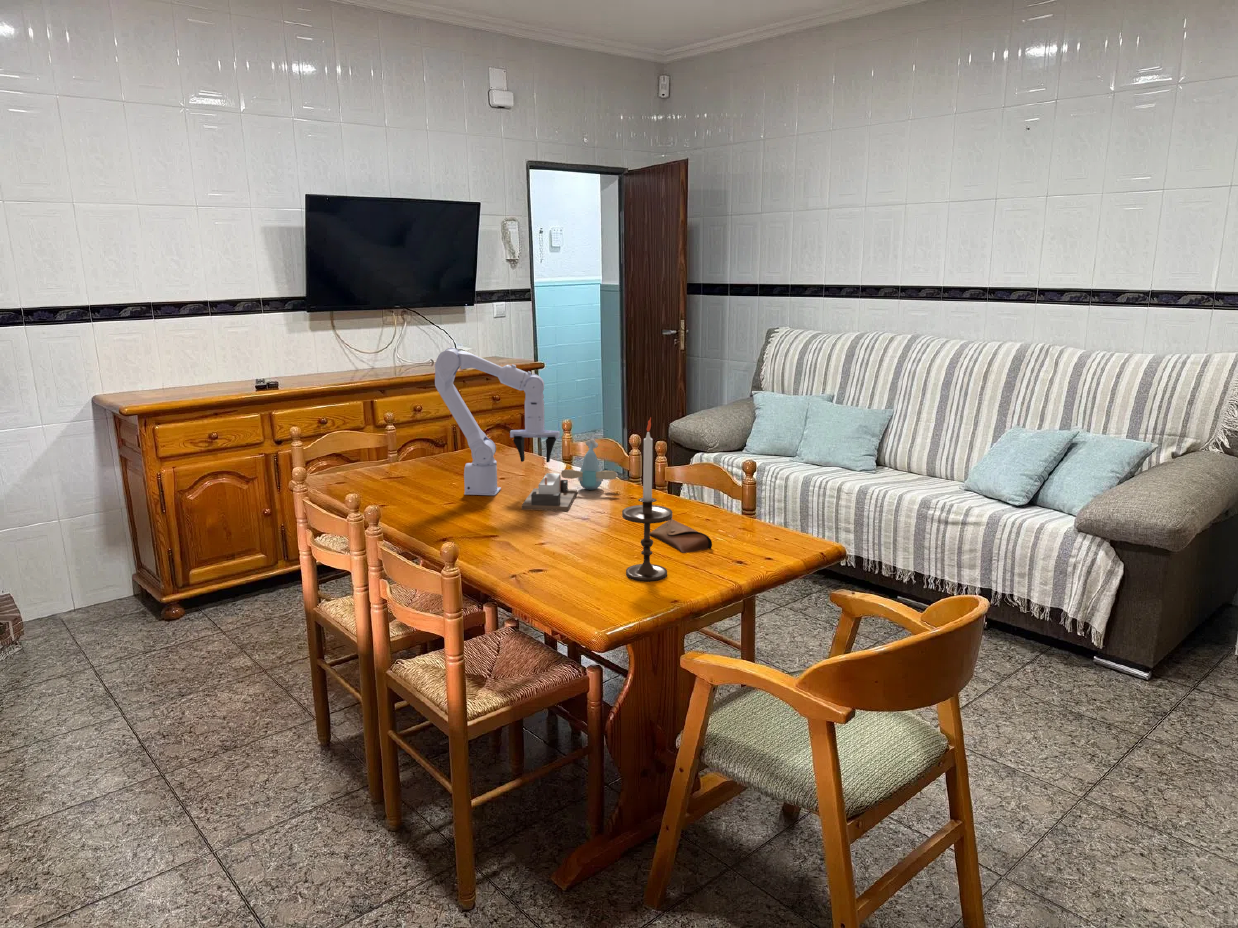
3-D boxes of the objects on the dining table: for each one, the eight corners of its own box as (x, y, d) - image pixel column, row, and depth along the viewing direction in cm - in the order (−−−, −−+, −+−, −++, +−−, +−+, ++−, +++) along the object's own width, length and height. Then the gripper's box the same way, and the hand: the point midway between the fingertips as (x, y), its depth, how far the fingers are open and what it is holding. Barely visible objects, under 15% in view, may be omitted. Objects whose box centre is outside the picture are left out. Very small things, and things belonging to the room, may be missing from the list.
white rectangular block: (553, 504, 240) (552, 478, 239) (538, 503, 241) (538, 477, 239) (560, 491, 254) (560, 466, 252) (546, 491, 254) (546, 466, 253)
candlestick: (647, 562, 196) (649, 411, 189) (681, 575, 189) (684, 418, 181) (611, 573, 190) (612, 417, 182) (645, 587, 182) (647, 424, 174)
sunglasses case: (644, 533, 218) (655, 510, 218) (663, 543, 222) (675, 520, 222) (683, 553, 203) (696, 528, 203) (704, 564, 206) (716, 539, 207)
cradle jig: (567, 510, 238) (567, 496, 237) (521, 509, 239) (521, 494, 238) (576, 493, 257) (576, 479, 256) (534, 492, 258) (533, 478, 257)
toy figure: (619, 485, 266) (619, 438, 263) (616, 494, 256) (616, 445, 252) (566, 484, 268) (565, 437, 264) (560, 492, 257) (560, 443, 254)
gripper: (507, 418, 250) (508, 463, 253) (556, 419, 249) (557, 464, 252) (512, 414, 257) (513, 458, 260) (560, 415, 255) (561, 459, 258)
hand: (535, 461), depth 256 cm, fingers open, 7 cm apart
